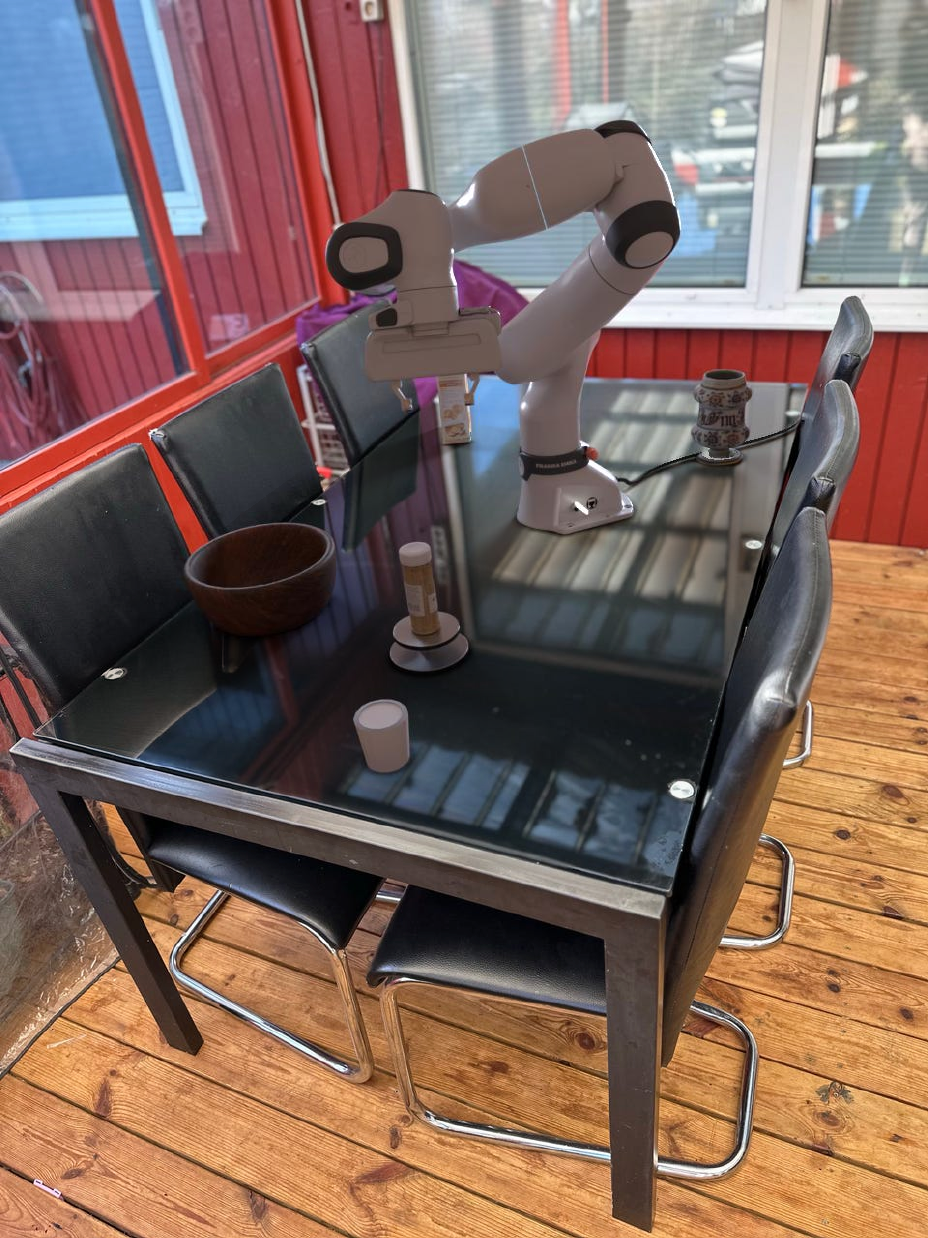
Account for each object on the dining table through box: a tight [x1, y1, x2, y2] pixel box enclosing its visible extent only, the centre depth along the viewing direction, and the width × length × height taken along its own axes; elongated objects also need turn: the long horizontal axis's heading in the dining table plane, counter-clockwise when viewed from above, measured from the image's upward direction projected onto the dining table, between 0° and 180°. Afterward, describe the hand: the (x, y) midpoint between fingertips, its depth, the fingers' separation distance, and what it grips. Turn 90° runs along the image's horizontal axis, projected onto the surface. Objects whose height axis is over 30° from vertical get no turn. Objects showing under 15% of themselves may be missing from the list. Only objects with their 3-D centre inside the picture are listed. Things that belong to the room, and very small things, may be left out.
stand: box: [389, 611, 470, 676], centre depth 134 cm, size 12×12×4 cm
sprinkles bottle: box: [398, 541, 440, 635], centre depth 129 cm, size 5×5×14 cm
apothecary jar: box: [690, 368, 754, 466], centre depth 186 cm, size 12×12×18 cm
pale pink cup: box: [352, 699, 410, 773], centre depth 113 cm, size 7×7×7 cm
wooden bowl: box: [183, 522, 337, 637], centre depth 149 cm, size 25×25×10 cm
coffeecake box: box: [435, 374, 472, 445], centre depth 215 cm, size 15×7×20 cm, turn 179°
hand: (438, 408), depth 133 cm, fingers open, 8 cm apart
